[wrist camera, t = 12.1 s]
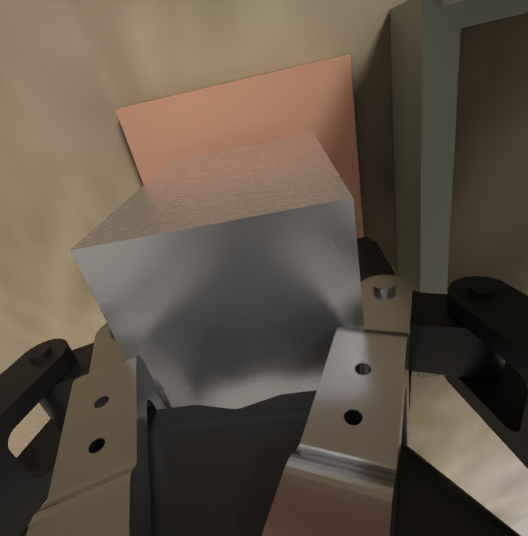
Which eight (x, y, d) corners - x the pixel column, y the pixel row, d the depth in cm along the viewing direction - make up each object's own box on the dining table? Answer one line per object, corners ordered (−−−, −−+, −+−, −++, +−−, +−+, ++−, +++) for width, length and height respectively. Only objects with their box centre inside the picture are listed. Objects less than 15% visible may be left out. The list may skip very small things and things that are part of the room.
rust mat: (346, 54, 12) (350, 54, 12) (368, 323, 18) (370, 330, 18) (121, 107, 13) (115, 109, 13) (208, 346, 19) (206, 353, 19)
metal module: (315, 131, 12) (359, 196, 6) (339, 320, 16) (381, 481, 9) (168, 162, 12) (64, 251, 6) (225, 336, 16) (196, 498, 10)
